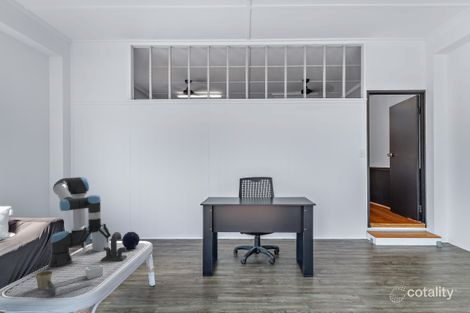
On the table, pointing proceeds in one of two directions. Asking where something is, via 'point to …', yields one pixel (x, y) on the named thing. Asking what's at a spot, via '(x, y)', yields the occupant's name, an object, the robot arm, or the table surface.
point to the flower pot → (43, 279)
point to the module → (94, 271)
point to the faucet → (114, 250)
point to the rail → (52, 286)
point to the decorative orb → (130, 240)
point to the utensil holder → (99, 240)
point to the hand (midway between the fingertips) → (95, 249)
